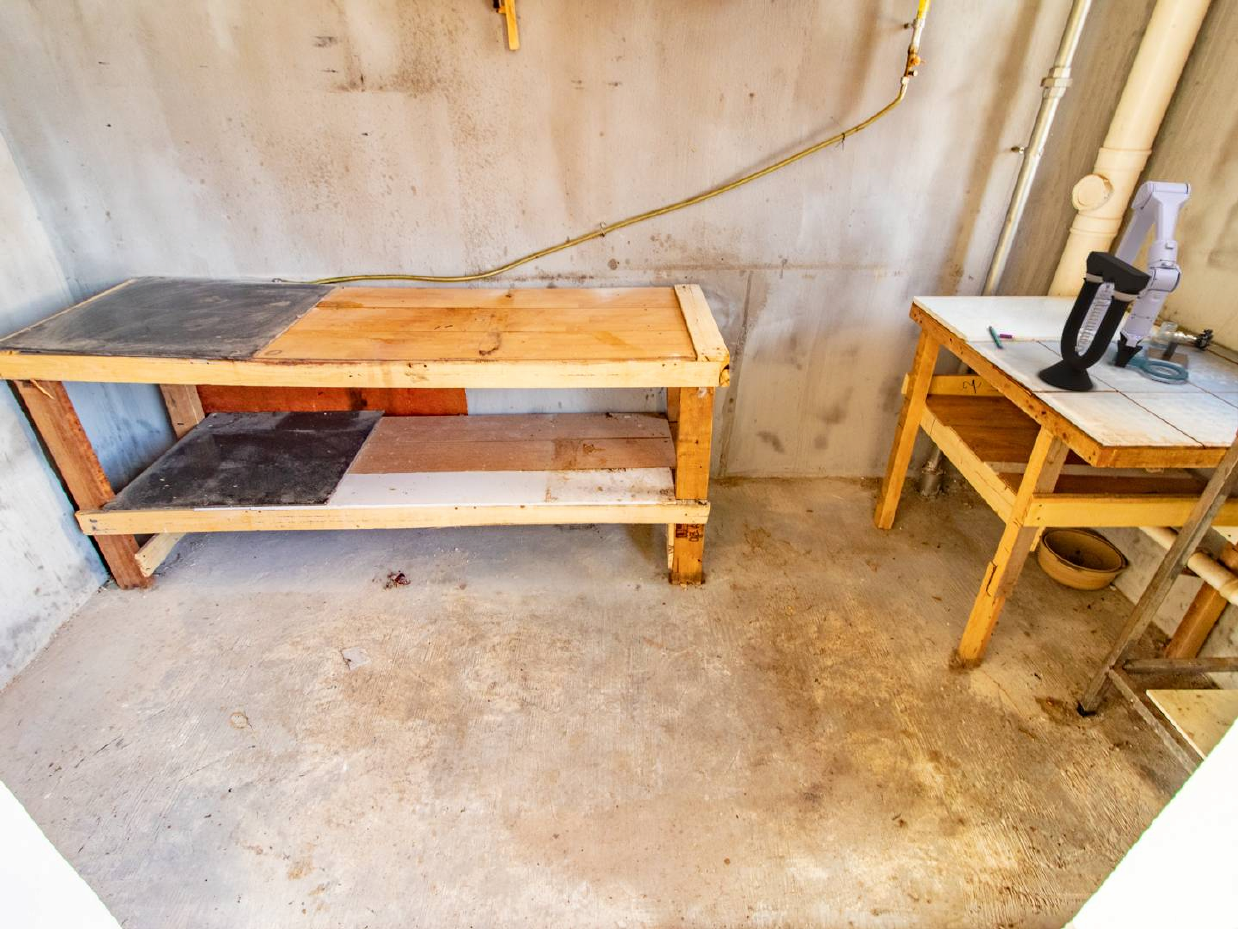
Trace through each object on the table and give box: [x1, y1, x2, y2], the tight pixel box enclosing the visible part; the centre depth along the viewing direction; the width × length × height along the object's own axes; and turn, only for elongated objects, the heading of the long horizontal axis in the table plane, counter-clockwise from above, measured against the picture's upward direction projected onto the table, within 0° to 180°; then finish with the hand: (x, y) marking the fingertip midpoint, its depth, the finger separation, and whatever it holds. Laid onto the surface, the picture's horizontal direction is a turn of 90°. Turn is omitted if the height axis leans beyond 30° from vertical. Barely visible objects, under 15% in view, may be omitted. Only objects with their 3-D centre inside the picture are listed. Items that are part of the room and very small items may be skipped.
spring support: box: [1038, 250, 1151, 391], centre depth 160 cm, size 21×12×30 cm, turn 172°
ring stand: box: [1146, 340, 1188, 367], centre depth 178 cm, size 9×9×6 cm
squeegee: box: [988, 325, 1013, 349], centre depth 189 cm, size 15×1×5 cm
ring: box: [1111, 351, 1190, 385], centre depth 172 cm, size 17×10×3 cm, turn 53°
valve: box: [1153, 321, 1214, 352], centre depth 185 cm, size 7×7×12 cm
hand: (1119, 363), depth 175 cm, fingers open, 7 cm apart
